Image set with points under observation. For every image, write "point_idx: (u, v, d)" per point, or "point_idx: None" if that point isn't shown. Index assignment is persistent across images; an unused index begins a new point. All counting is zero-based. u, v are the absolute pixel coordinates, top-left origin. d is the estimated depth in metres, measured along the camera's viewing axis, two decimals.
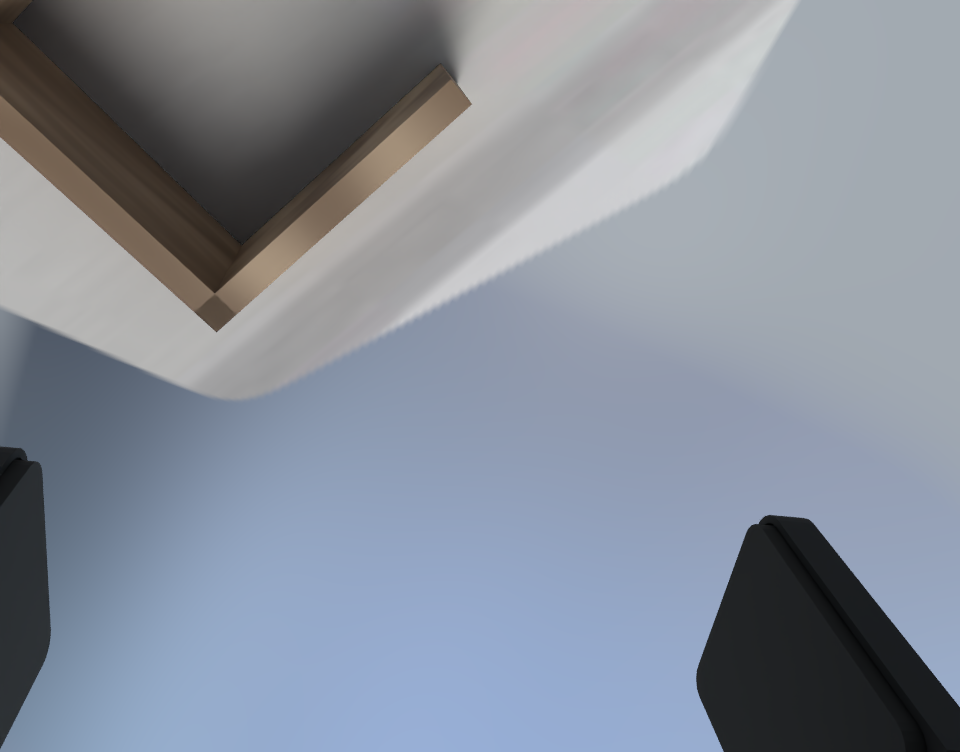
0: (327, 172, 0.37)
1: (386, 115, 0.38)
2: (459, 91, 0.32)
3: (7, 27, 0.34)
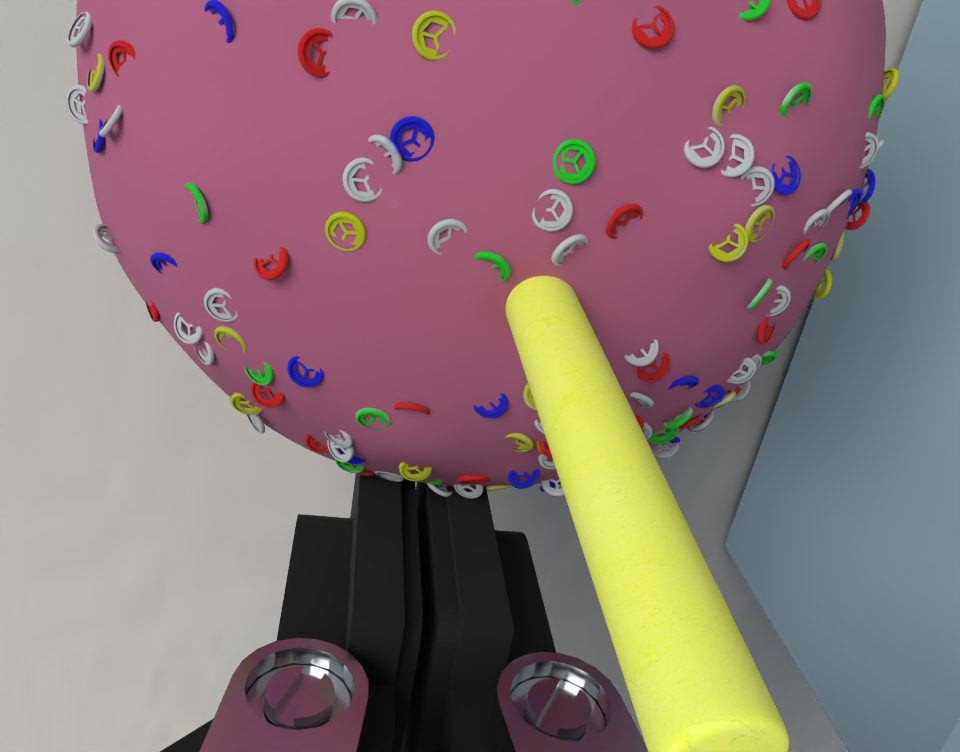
0: None
1: None
2: None
3: None
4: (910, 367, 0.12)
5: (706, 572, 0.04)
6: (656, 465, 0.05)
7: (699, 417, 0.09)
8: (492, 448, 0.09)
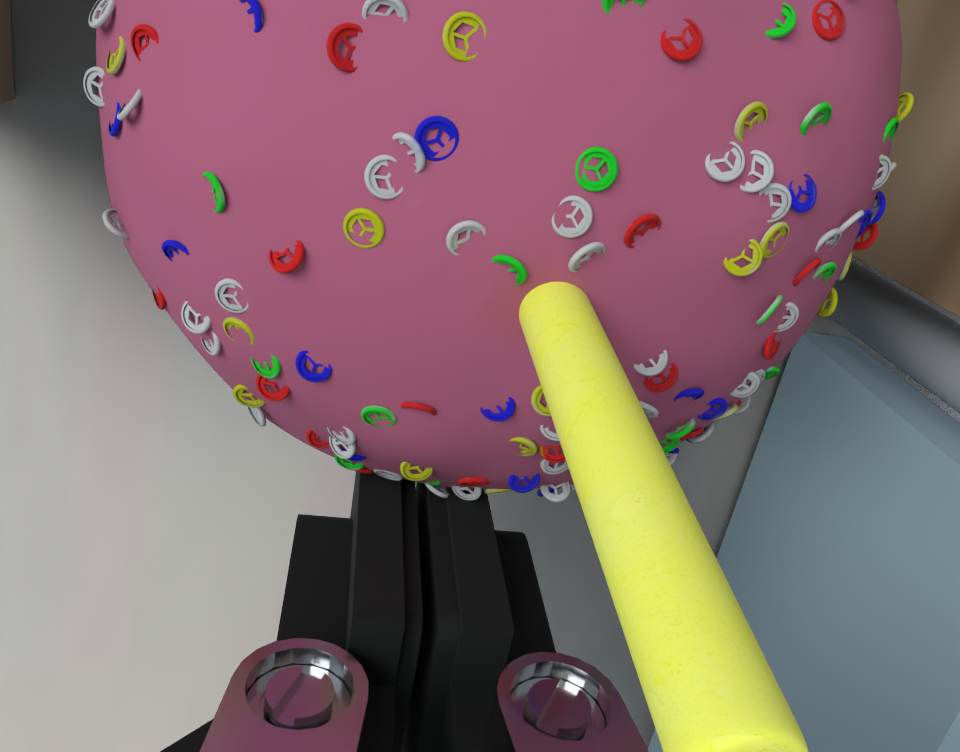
0: None
1: None
2: None
3: None
4: None
5: (725, 585, 0.05)
6: (673, 476, 0.05)
7: (700, 429, 0.10)
8: (495, 451, 0.09)
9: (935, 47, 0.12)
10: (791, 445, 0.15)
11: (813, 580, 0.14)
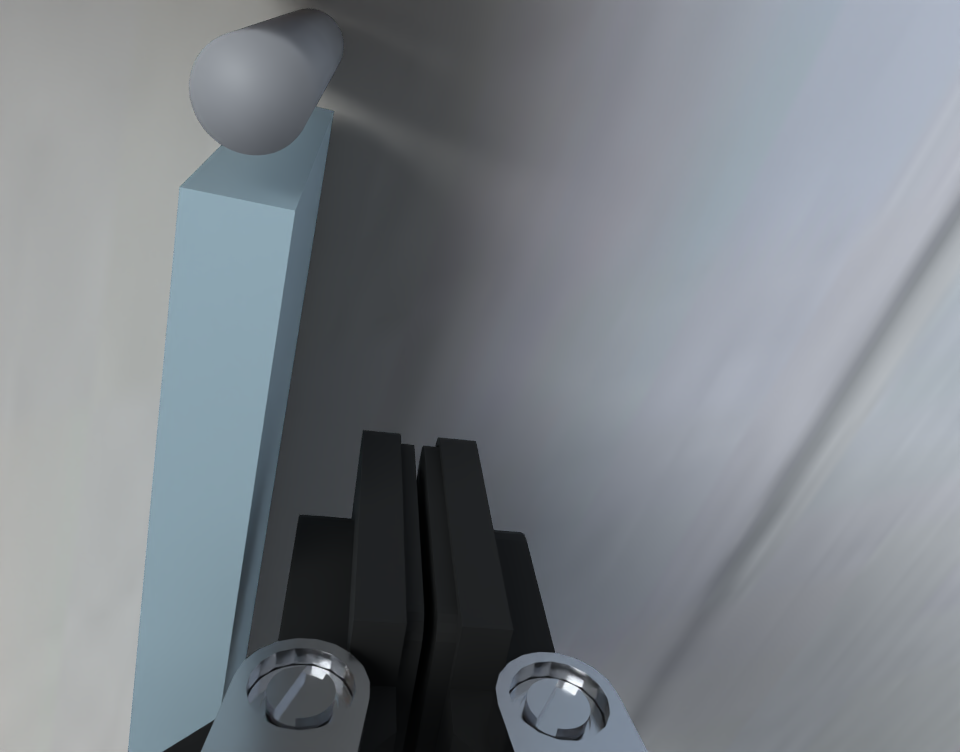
0: None
1: None
2: None
3: None
4: None
5: None
6: None
7: None
8: None
9: None
10: None
11: None
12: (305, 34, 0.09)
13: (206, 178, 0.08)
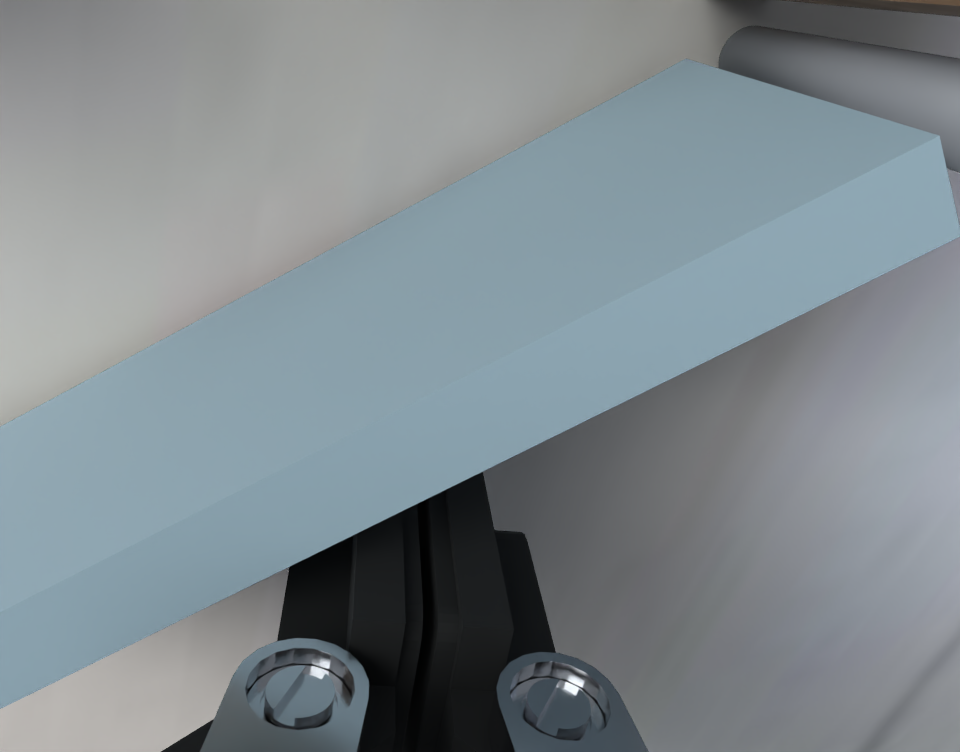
0: None
1: None
2: None
3: None
4: (172, 399, 0.11)
5: None
6: None
7: None
8: None
9: None
10: (596, 127, 0.12)
11: (527, 210, 0.10)
12: None
13: None
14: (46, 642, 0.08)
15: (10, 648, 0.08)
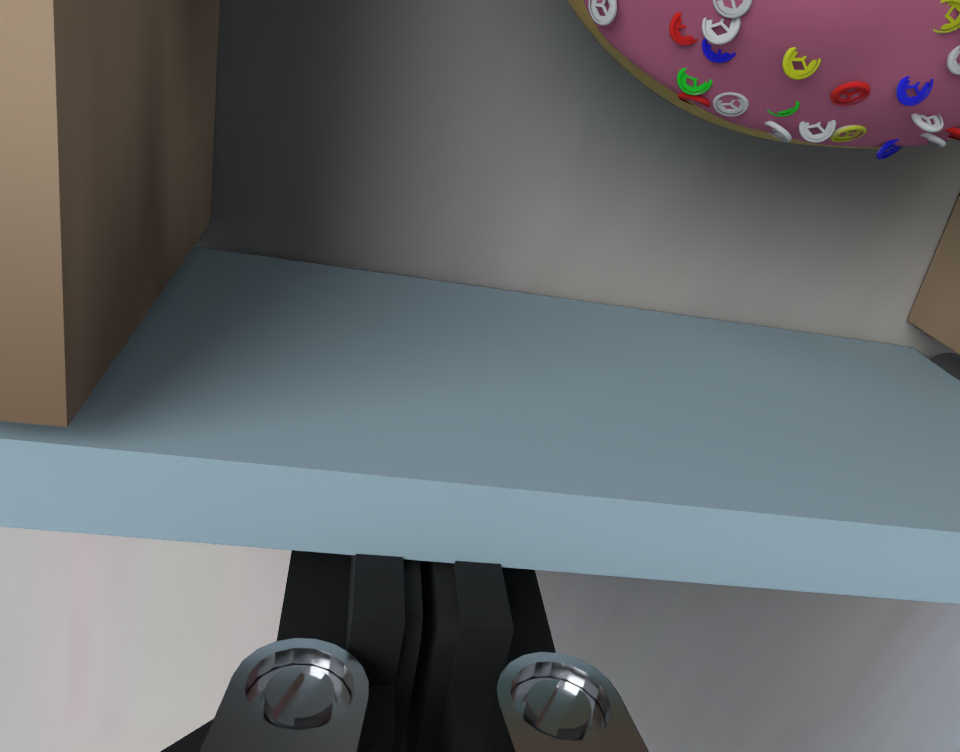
0: None
1: (209, 10, 0.12)
2: (2, 416, 0.07)
3: None
4: (492, 357, 0.12)
5: None
6: None
7: None
8: (914, 22, 0.07)
9: None
10: (854, 358, 0.15)
11: (831, 399, 0.13)
12: None
13: None
14: (426, 524, 0.09)
15: (395, 511, 0.09)
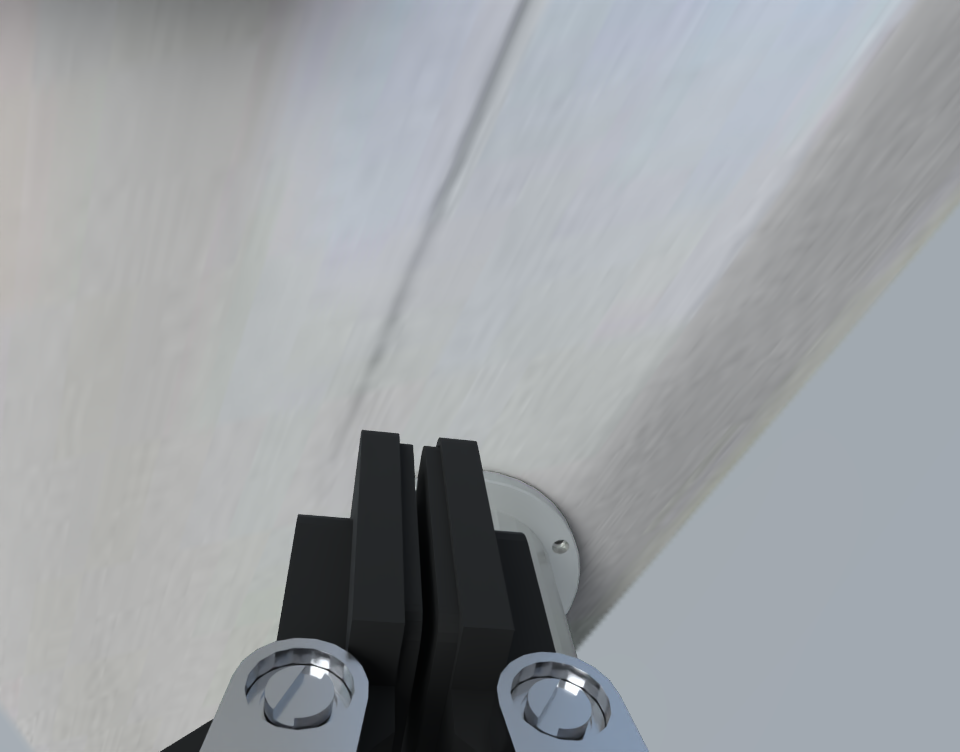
0: None
1: None
2: None
3: None
4: None
5: None
6: None
7: None
8: None
9: None
10: None
11: None
12: None
13: None
14: None
15: None
